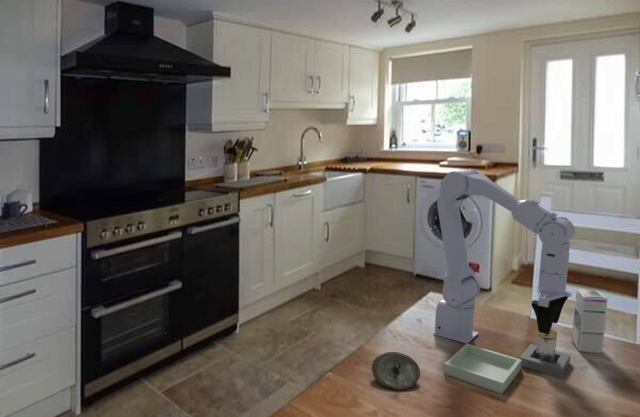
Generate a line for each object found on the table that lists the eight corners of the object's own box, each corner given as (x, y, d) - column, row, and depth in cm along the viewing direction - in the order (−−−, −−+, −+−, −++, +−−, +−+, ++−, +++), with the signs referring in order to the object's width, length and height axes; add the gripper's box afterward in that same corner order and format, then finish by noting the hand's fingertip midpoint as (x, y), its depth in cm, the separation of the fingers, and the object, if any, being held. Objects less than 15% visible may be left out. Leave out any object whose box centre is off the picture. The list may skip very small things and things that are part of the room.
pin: (533, 364, 113) (536, 332, 111) (537, 358, 116) (540, 327, 115) (551, 370, 110) (554, 337, 109) (555, 363, 114) (558, 331, 112)
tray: (443, 373, 108) (444, 363, 108) (466, 353, 118) (466, 343, 118) (502, 394, 100) (503, 383, 100) (520, 369, 110) (521, 359, 110)
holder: (518, 365, 112) (519, 357, 112) (529, 351, 119) (530, 343, 119) (560, 377, 107) (561, 369, 107) (569, 362, 114) (570, 354, 114)
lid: (415, 368, 111) (416, 348, 110) (423, 391, 101) (424, 369, 100) (369, 367, 111) (370, 347, 110) (373, 390, 101) (374, 368, 100)
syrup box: (603, 353, 119) (609, 297, 116) (577, 351, 120) (583, 295, 117) (594, 343, 124) (601, 290, 122) (570, 341, 125) (575, 288, 123)
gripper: (565, 282, 101) (559, 342, 104) (579, 267, 112) (573, 321, 115) (530, 275, 106) (525, 334, 108) (547, 261, 117) (542, 314, 119)
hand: (548, 327), depth 112 cm, fingers open, 7 cm apart
